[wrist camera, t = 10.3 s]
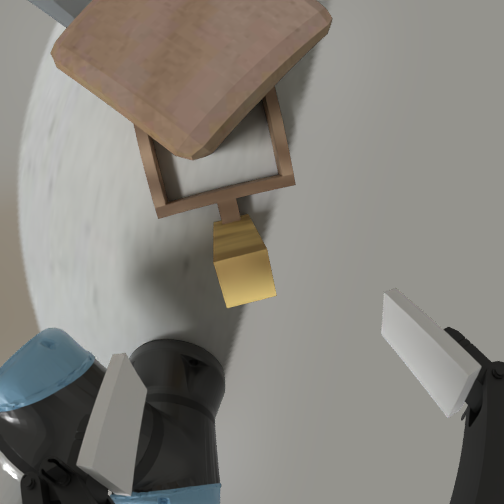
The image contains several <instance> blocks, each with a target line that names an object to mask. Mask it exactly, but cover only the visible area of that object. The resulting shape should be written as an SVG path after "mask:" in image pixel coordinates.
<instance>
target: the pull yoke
mask: <svg viewBox="0 0 504 504" xmlns="http://www.w3.org/2000/svg"><path fill="white" fill-rule="evenodd" d="M262 101H263V105H264V109H265V114H266V118H267V122H268V127H269V131H270V136H271V141H272V145H273V150H274V155H275V159H276V164H277V169H278V174H279V175H275V176H270V177H266V178H261V179H256V180H252V181H248V182H243V183H239V184H235V185H231V186H227V187H222V188H218V189H214V190H211V191H207V192H203V193H199V194H195V195H191V196H188V197H184V198H180V199H177V200H173V201H170V202H169V201H168V198H167V194H166V191H165V187H164V183H163V179H162V176H161V172H160V168H159V164H158V160H157V156H156V152H155V148H154V143H153V139H152V137H151V136H149V135H148V134H147V133H145V132H144V131H143V130H142V129H140V128H139V127H138V126H136V125H135V124H134V128H135V132H136V137H137V141H138V145H139V150H140V154H141V158H142V162H143V166H144V170H145V174H146V177H147V181H148V185H149V188H150V192H151V196H152V199H153V203H154V206H155V210H156V213H157V216H158V219H159V218H163V217H166V216H170V215H174V214H177V213H181V212H185V211H188V210H192V209H196V208H200V207H203V206H207V205H211V204H215V203H217V204H218V208H219V212H220V216H221V221H217V222H214V227H213V263H214V266H215V270H216V273H217V277H218V280H219V283H220V287H221V290H222V293H223V297H224V300H225V303H226V306H227V308H230V307H234V306H238V305H242V304H246V303H250V302H254V301H258V300H262V299H266V298H269V297H273V296H276V290H275V285H274V280H273V275H272V270H271V266H270V261H269V256H268V251H267V248H266V246H265V244H264V242H263V241H262V239H261V237H260V235H259V233H258V231H257V229H256V228H255V226H254V224H253V222H252V220H251V218H250V217H249V215H248V214H245V215H241V216H240V214H239V209H238V205H237V201H236V198H239V197H244V196H248V195H252V194H256V193H261V192H265V191H270V190H274V189H279V188H283V187H288V186H293V185H295V180H294V173H293V169H292V163H291V158H290V153H289V148H288V143H287V139H286V134H285V129H284V125H283V120H282V116H281V111H280V107H279V102H278V98H277V94H276V90H275V86H274V87H273V88H272V89H271V90H270V91H269V92H268V93H267V94H266V95H265V96H264V98H263V99H262Z"/></svg>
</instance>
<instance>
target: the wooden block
mask: <svg viewBox="0 0 504 504" xmlns="http://www.w3.org/2000/svg"><path fill="white" fill-rule="evenodd" d="M331 22H332V17H331V15H330V14H329V12H328V11H327V9H326V8H325V7H324V6H323V5H321V4H320V3H319V2H318V1H316V0H92V1H91V2H90V3H89V4H88V5H87V6H86V7H85V8H84V9H83V10H82V12H81V13H80V14H79V15H78V16H77V17H76V18H75V19H74V20H73V21H72V22H71V24H70V25H69V26H68V27H67V28H66V29H65V31H64V32H63V33H62V34H61V35H60V37H59V38H58V39H57V40H56V42H55V44H54V46H53V48H52V51H51V55H52V57H53V59H54V62H55V64H56V67H57V68H58V69H60V70H61V71H62V72H64V73H65V74H67V75H68V76H70V77H71V78H72V79H74V80H75V81H77V82H78V83H79V84H81V85H82V86H84V87H85V88H86V89H88V90H89V91H90V92H92V93H93V94H95V95H96V96H97V97H99V98H100V99H101V100H103V101H104V102H105V103H107V104H108V105H110V106H111V107H112V108H114V109H115V110H116V111H118V112H119V113H120V114H122V115H123V116H124V117H126V118H127V119H128V120H130V121H131V122H132V123H134V124H135V125H136V126H138V127H139V128H140V129H142V130H143V131H144V132H145V133H147V134H148V135H149V136H151V137H152V138H153V139H155V140H156V141H157V142H158V143H160V144H161V145H162V146H164V147H165V148H166V149H168V150H169V151H170V152H171V153H173V154H174V155H175V156H179V157H182V158H186V159H190V160H196V159H199V158H202V157H206V156H208V155H210V154H212V153H213V152H214V151H215V150H216V149H217V147H218V146H219V145H220V144H221V143H222V142H223V141H224V139H225V138H226V137H227V136H228V135H229V134H230V133H231V132H232V130H233V129H234V128H235V127H236V126H237V125H238V124H239V123H240V122H241V121H242V120H243V118H244V117H245V116H246V115H247V114H248V113H249V112H250V111H251V110H252V109H253V108H254V107H255V106H256V105H257V104H258V103H259V102H260V101H261V100H262V99H263V98H264V96H265V95H266V94H267V93H268V92H269V91H270V90H271V89H272V88H273V87H274V86H275V85H276V84H277V83H278V82H279V80H280V79H281V78H282V77H283V76H284V75H285V74H286V73H287V72H288V71H289V70H290V69H291V68H292V67H293V66H294V65H295V64H296V63H297V62H298V61H299V60H300V59H301V58H302V57H303V56H304V55H305V54H306V53H307V52H309V51H310V50H311V49H312V48H313V47H314V46H315V45H316V44H317V43H318V42H319V41H320V40H321V39H322V38H323V37H325V36H326V35H327V34H328V31H329V28H330V25H331Z"/></svg>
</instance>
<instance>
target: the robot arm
mask: <svg viewBox="0 0 504 504" xmlns="http://www.w3.org/2000/svg"><path fill="white" fill-rule="evenodd" d="M381 335H382V336H383V337H384V338H385V339H386V341H387V342H388V343H389V344H390V346H391V347H392V348H393V349H394V350H395V352H396V353H397V354H398V355H399V356H400V358H401V359H402V360H403V361H404V363H405V364H406V365H407V366H408V368H409V369H410V370H411V371H412V373H413V374H414V375H415V376H416V378H417V379H418V380H419V381H420V382H421V384H422V385H423V387H424V388H425V389H426V390H427V392H428V393H429V394H430V396H431V397H432V398H433V400H434V401H435V402H436V403H437V405H438V406H439V407H440V409H441V410H442V411H443V413H444V414H445V415H446V417H447V418H449V417H450V416H452V415H453V414H455V413H456V412H457V411H459V410H460V409H461V407H462V405H463V404H464V402H466V403H467V404H468V407H467V409H466V410H465V412H464V414H463V415H462V418H461V420H463V419H464V417H465V416H466V421H465V430H464V438H463V445H462V452H461V457H460V463H459V468H458V473H457V477H456V482H455V486H454V490H453V494H452V497H451V501H450V504H504V362H500V361H496V362H491V361H490V360H489V359H488V358H487V357H485V356H484V354H482V353H481V352H480V351H479V350H478V349H477V348H476V347H475V346H474V345H473V344H471V343H470V341H469V340H467V339H465V337H464V336H463V335H462V334H461V333H460V332H459V331H457V330H455V329H452V328H450V327H447V328H445V329H442V328H441V327H440V326H439V325H438V324H437V323H436V322H434V321H433V320H432V319H431V318H430V317H429V316H428V315H427V314H426V313H424V312H423V311H422V310H421V309H420V308H419V307H418V306H416V305H415V304H414V303H413V302H412V301H411V300H409V299H408V298H407V297H406V296H405V295H404V294H403V293H401V292H400V291H399V290H398V289H397V288H395V289H392V290H389V291H386V292H384V302H383V317H382V330H381ZM224 393H225V377H224V372H223V369H222V367H221V365H220V363H219V362H218V361H217V359H216V358H215V357H214V356H212V355H211V354H210V353H209V352H207V351H206V350H204V349H202V348H200V347H198V346H196V345H193V344H190V343H187V342H183V341H177V340H158V341H152V342H149V343H146V344H144V345H142V346H140V347H139V348H137V349H136V350H135V351H134V352H133V353H132V355H131V356H130V358H129V359H128V357H127V355H126V353H122V354H114V355H112V358H111V360H110V363H109V366H108V368H107V369H106V368H105V367H104V366H103V365H101V364H100V363H99V362H98V361H97V360H96V359H95V356H94V355H93V354H92V353H90V352H89V351H86V350H85V349H84V348H82V347H81V346H80V345H79V344H78V343H77V342H76V341H75V340H74V339H73V338H72V337H71V336H69V335H68V334H67V333H66V332H65V331H63V330H61V329H58V328H48V329H45V330H43V331H42V332H40V333H39V334H37V335H36V336H35V337H33V338H32V339H31V340H30V341H28V342H27V343H26V344H25V345H23V346H22V347H21V348H20V349H19V350H18V351H17V352H16V353H15V354H14V355H13V356H11V357H10V358H9V359H8V360H7V361H6V362H5V363H4V364H3V366H2V367H1V368H0V504H220V488H221V483H220V478H219V469H218V457H217V445H216V434H215V433H216V432H215V417H216V415H217V412H218V409H219V407H220V404H221V401H222V399H223V396H224ZM108 489H109V490H110V491H112V494H111V495H110V496H109V495H108Z"/></svg>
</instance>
